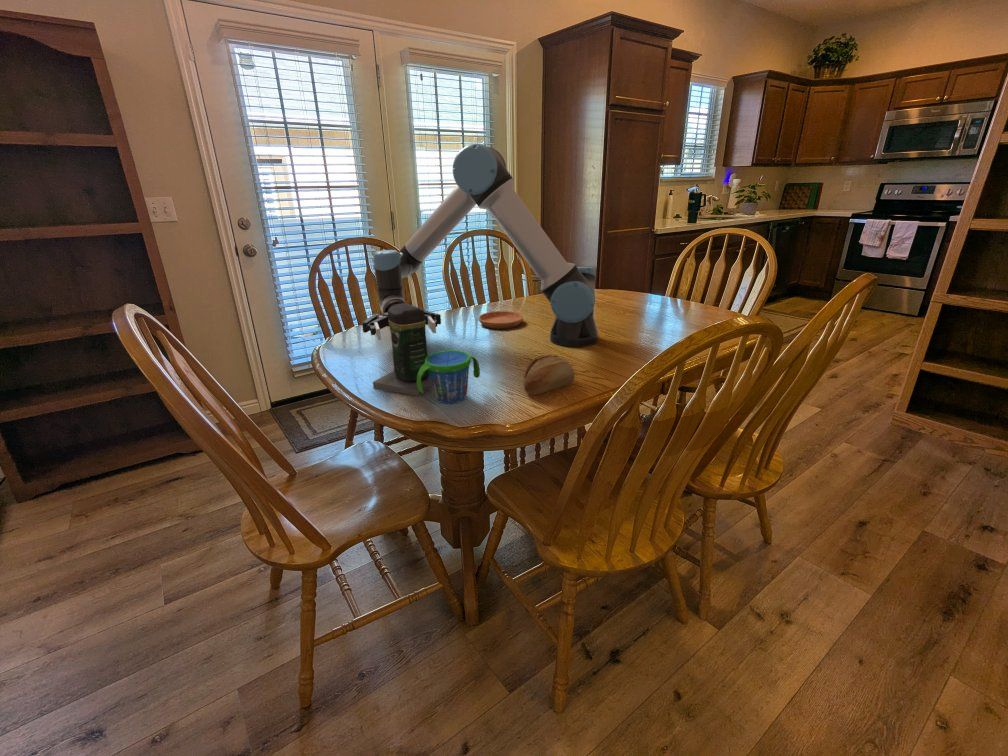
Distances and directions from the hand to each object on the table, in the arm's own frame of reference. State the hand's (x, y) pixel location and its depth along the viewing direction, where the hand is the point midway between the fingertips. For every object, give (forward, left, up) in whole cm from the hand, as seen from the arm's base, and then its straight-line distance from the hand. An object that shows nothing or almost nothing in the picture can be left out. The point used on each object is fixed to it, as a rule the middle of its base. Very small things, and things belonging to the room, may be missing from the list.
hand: (407, 331), depth 115 cm
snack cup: (-14, +4, -14) cm, 20 cm away
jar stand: (0, 0, -14) cm, 14 cm away
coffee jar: (0, 0, -12) cm, 12 cm away
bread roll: (-33, -10, -14) cm, 37 cm away
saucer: (+3, -57, -14) cm, 59 cm away
